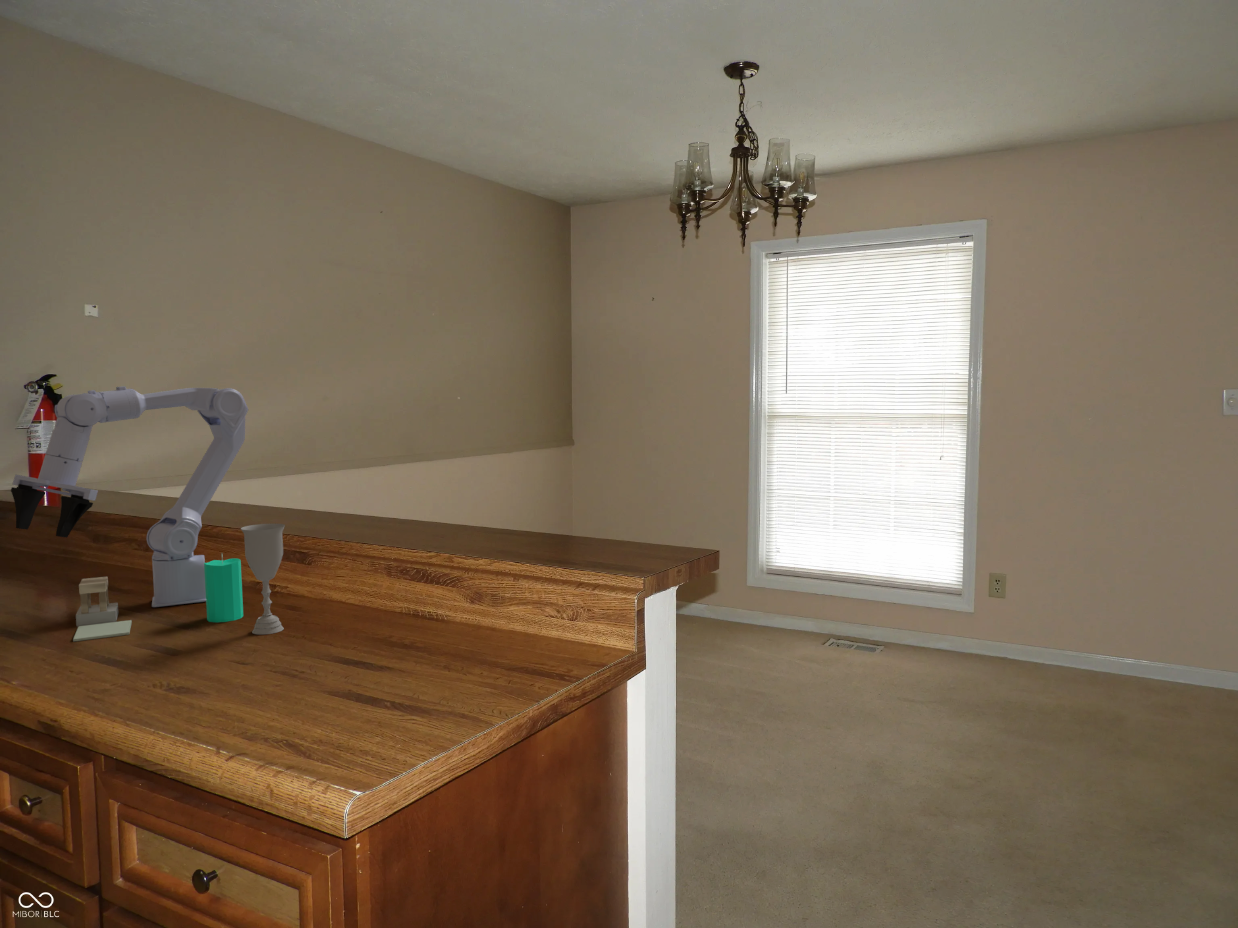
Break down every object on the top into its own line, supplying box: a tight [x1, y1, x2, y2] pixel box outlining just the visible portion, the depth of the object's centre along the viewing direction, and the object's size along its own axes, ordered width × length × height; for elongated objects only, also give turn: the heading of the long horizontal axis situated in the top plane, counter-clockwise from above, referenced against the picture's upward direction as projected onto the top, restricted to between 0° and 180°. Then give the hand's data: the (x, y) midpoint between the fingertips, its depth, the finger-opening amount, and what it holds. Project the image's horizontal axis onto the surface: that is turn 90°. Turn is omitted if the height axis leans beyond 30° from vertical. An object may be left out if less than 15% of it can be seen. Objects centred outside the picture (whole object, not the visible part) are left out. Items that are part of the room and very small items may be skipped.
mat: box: [72, 619, 133, 642], centre depth 143 cm, size 8×9×1 cm
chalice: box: [240, 523, 286, 635], centre depth 142 cm, size 7×7×18 cm
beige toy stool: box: [78, 576, 110, 614], centre depth 150 cm, size 6×4×5 cm, turn 28°
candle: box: [204, 552, 244, 623], centre depth 150 cm, size 6×6×12 cm
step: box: [75, 602, 119, 627], centre depth 151 cm, size 6×7×2 cm
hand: (41, 532), depth 146 cm, fingers open, 7 cm apart
